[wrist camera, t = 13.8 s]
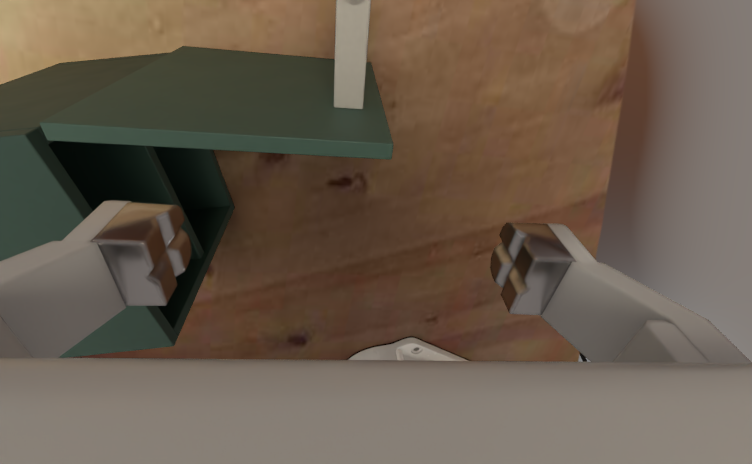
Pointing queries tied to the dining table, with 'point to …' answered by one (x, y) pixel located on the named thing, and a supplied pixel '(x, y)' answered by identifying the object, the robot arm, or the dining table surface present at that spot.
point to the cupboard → (102, 191)
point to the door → (244, 101)
